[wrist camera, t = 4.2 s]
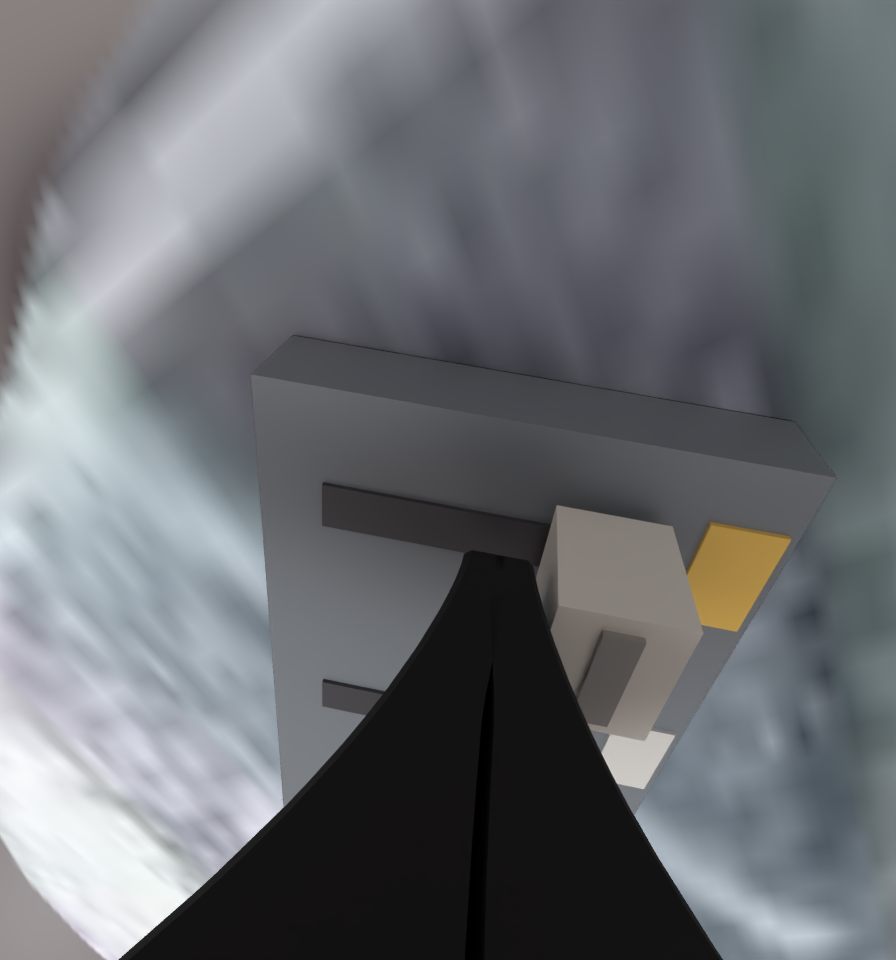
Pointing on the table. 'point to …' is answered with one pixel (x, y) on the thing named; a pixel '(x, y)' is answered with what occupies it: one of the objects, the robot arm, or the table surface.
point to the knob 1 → (618, 615)
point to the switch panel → (491, 518)
